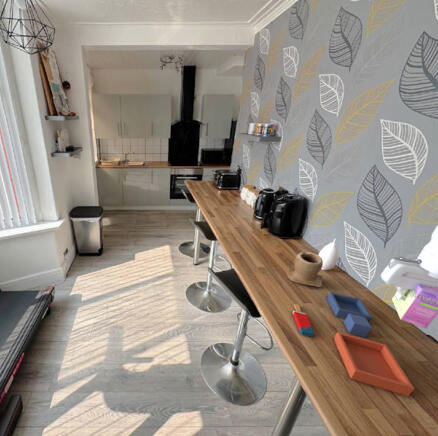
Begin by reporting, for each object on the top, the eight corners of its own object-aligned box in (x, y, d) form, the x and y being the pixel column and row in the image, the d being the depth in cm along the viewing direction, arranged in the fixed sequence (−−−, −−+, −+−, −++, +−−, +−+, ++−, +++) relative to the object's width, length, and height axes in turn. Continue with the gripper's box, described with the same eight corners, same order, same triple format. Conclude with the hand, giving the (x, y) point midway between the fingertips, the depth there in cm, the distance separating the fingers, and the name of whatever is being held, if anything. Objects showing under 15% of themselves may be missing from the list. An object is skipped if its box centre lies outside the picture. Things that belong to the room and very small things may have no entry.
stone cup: (288, 285, 109) (297, 257, 103) (284, 270, 119) (293, 245, 113) (326, 294, 104) (338, 266, 98) (319, 278, 114) (330, 252, 108)
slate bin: (356, 305, 99) (359, 298, 97) (368, 324, 89) (372, 317, 88) (327, 298, 102) (329, 292, 100) (335, 316, 93) (339, 309, 91)
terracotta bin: (381, 351, 79) (385, 344, 77) (408, 396, 66) (414, 388, 65) (333, 338, 83) (337, 331, 81) (350, 378, 70) (355, 370, 69)
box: (427, 329, 67) (450, 297, 62) (400, 319, 70) (420, 288, 65) (415, 307, 75) (435, 277, 70) (391, 299, 78) (409, 270, 73)
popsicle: (302, 304, 96) (315, 334, 83) (301, 307, 96) (314, 337, 83) (290, 301, 97) (301, 330, 84) (289, 304, 98) (299, 333, 84)
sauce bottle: (328, 266, 125) (340, 236, 117) (335, 274, 118) (348, 243, 110) (311, 263, 126) (323, 234, 119) (317, 272, 119) (330, 241, 112)
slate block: (359, 326, 88) (365, 317, 86) (365, 337, 84) (371, 327, 82) (343, 322, 90) (348, 313, 88) (349, 333, 85) (354, 323, 83)
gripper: (400, 261, 65) (378, 299, 71) (502, 279, 59) (469, 320, 65) (388, 250, 71) (368, 286, 76) (480, 266, 65) (451, 304, 70)
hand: (415, 302), depth 71 cm, fingers closed on box, 6 cm apart
